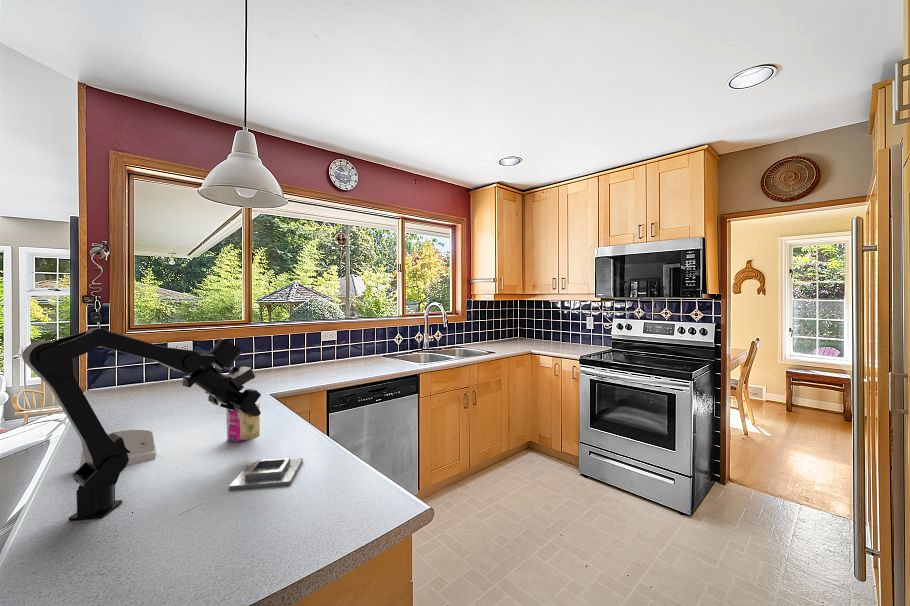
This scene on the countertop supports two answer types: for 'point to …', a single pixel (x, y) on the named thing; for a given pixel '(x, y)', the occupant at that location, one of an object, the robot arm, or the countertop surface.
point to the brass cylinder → (249, 426)
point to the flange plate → (267, 473)
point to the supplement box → (233, 426)
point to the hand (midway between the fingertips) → (254, 412)
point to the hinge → (135, 445)
